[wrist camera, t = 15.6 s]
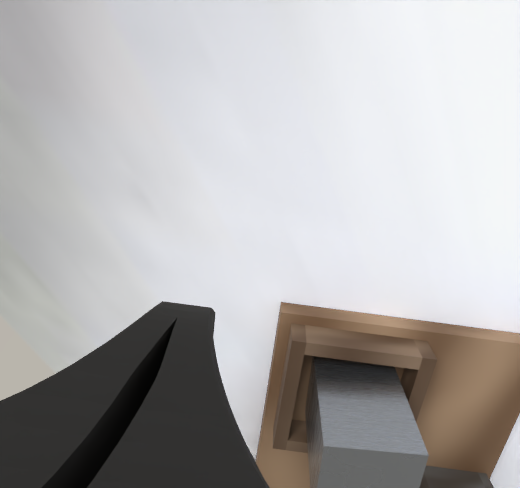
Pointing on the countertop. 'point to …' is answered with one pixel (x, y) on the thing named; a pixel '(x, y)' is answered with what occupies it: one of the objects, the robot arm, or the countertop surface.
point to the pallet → (412, 380)
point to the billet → (361, 428)
